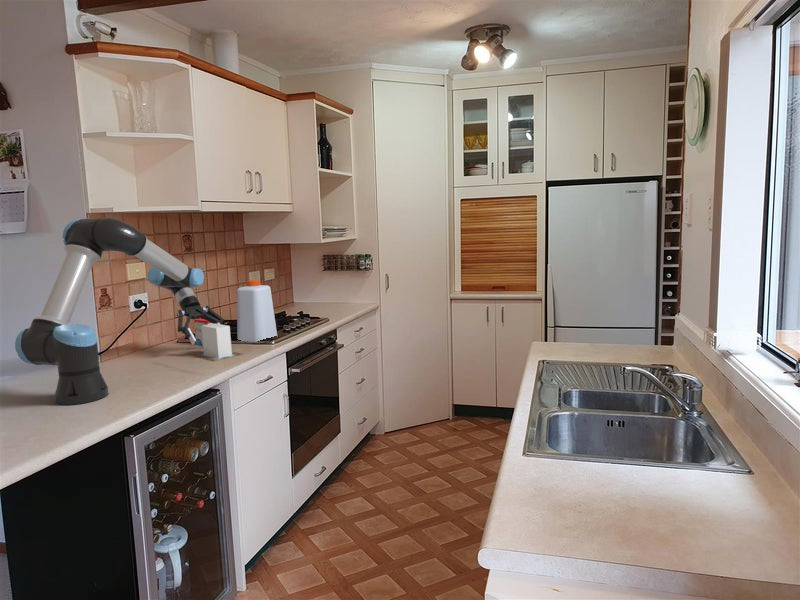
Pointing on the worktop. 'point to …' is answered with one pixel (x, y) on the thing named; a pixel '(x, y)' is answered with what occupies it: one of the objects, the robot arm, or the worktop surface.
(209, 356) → the dock board
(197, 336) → the ink box
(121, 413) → the worktop surface
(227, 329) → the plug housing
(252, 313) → the plastic bottle
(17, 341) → the robot arm
